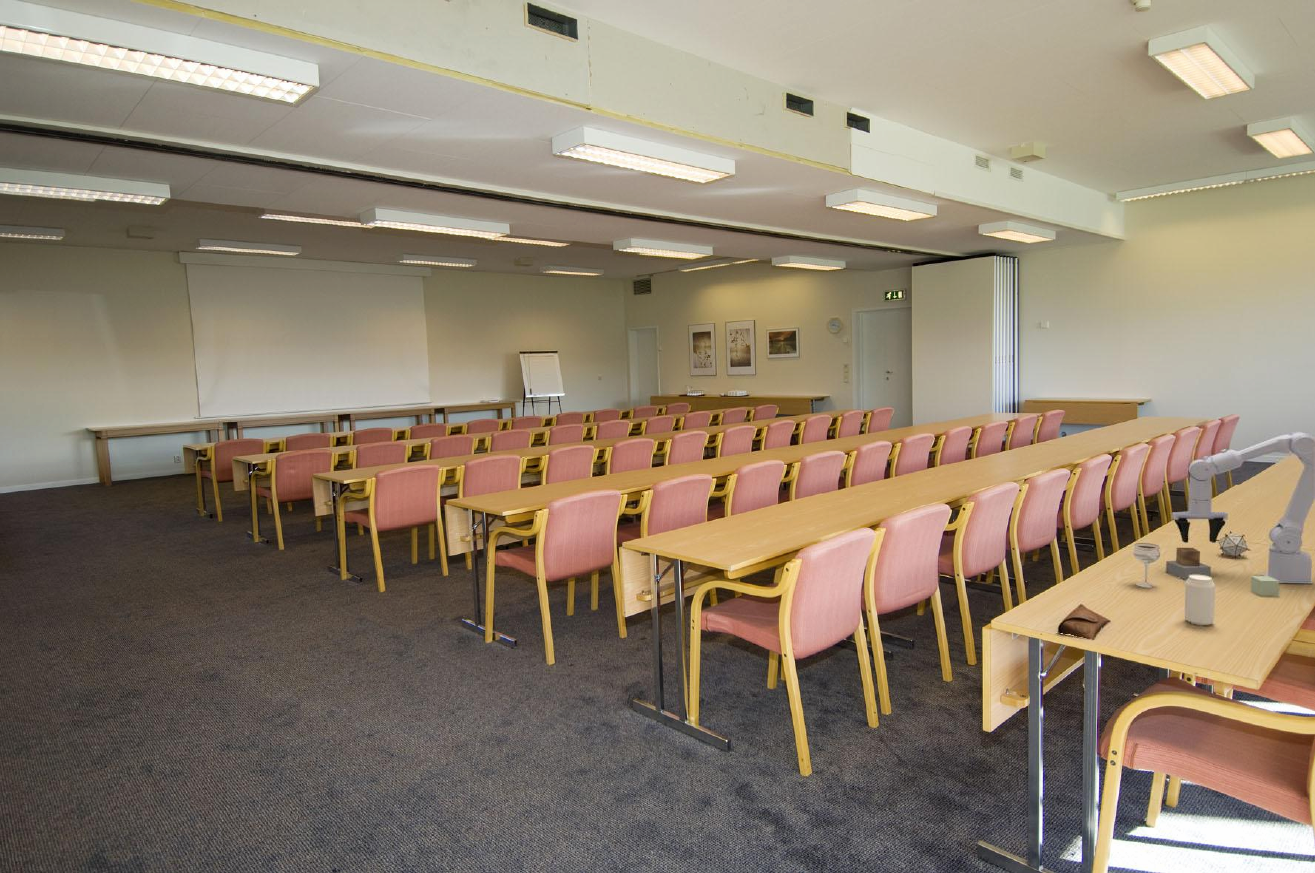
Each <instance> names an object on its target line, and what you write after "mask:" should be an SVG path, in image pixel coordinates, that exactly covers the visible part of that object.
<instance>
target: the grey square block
mask: <svg viewBox="0 0 1315 873" xmlns="http://www.w3.org/2000/svg"><path fill="white" fill-rule="evenodd" d="M1165 568H1166V569H1165V573H1166V572H1167V574H1169V575H1171V574H1172V576H1173V577H1176V578H1179V577H1180V578H1179V579H1181V578H1182V580H1184V581H1187V579H1188V578H1189V575H1205V576H1209V577H1211V570H1212V567H1211V566H1209V565H1207V564H1204V563H1202V562H1200V566H1183V565H1181V564H1179V563H1178V562H1176V560H1166V564H1165Z"/></svg>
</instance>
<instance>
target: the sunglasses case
mask: <svg viewBox="0 0 1315 873" xmlns="http://www.w3.org/2000/svg"><path fill="white" fill-rule="evenodd" d="M1108 622H1109V623H1111V620H1110V619H1108V618H1106V617H1105V616H1103V615H1100V614H1098V613H1096V612H1095V611H1093V610H1091V609H1090V608H1087V607H1086V606H1085V604H1082V603H1081V604H1079V605H1078V606H1077V607H1076V608H1074V609H1073V610H1072V611H1071V612H1070V613H1069V614H1068V615H1067V616H1065V618H1064V619H1063V620H1062V621H1061V622H1060V623H1059V625H1058V627H1057V632H1058V633H1059V634H1060V633H1063V634H1071V635H1074V636H1077V637H1076V638H1078V637H1083V638H1087V639H1086V640H1090V639H1092V640H1091V641H1094V640H1096V636H1097V635H1098V633H1099V632H1100V631H1101V630H1102V629H1103V628H1104V627H1105V626H1106V625H1107V624H1109V623H1108ZM1101 628H1102V629H1101ZM1096 634H1097V635H1096ZM1083 638H1082V639H1083Z"/></svg>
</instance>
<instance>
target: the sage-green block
mask: <svg viewBox="0 0 1315 873" xmlns="http://www.w3.org/2000/svg"><path fill="white" fill-rule="evenodd" d="M1250 583H1251V584H1250V592H1252V593H1253V594H1256V595H1257V594H1258V595H1257V596H1260V597H1279V593H1280V583H1279V581H1278V580H1276V579H1274V578H1272V577H1270V576H1261V575H1251V581H1250Z"/></svg>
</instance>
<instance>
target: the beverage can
mask: <svg viewBox="0 0 1315 873" xmlns="http://www.w3.org/2000/svg"><path fill="white" fill-rule="evenodd" d="M1184 583H1185V585H1184V586H1185V587H1184V588H1185V590H1184V619H1185V620H1186V621H1188V623H1190V622H1191V623H1190V624H1193V625H1195V624H1196V625H1195V626H1202V625H1206V626H1210V625H1211V624H1214V622H1215V607H1216V606H1215V605H1216V603H1215V602H1216V601H1215V600H1216V584H1215V583H1214V580H1213V578H1212V577H1211V576H1210V577H1209V576H1205V575H1189V578H1188V579H1187V580H1185V582H1184Z"/></svg>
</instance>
